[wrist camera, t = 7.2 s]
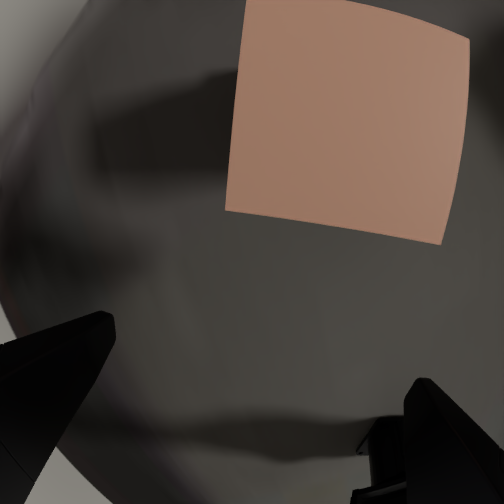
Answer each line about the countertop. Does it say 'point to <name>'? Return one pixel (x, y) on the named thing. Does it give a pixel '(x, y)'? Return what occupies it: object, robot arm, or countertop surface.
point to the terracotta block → (348, 117)
